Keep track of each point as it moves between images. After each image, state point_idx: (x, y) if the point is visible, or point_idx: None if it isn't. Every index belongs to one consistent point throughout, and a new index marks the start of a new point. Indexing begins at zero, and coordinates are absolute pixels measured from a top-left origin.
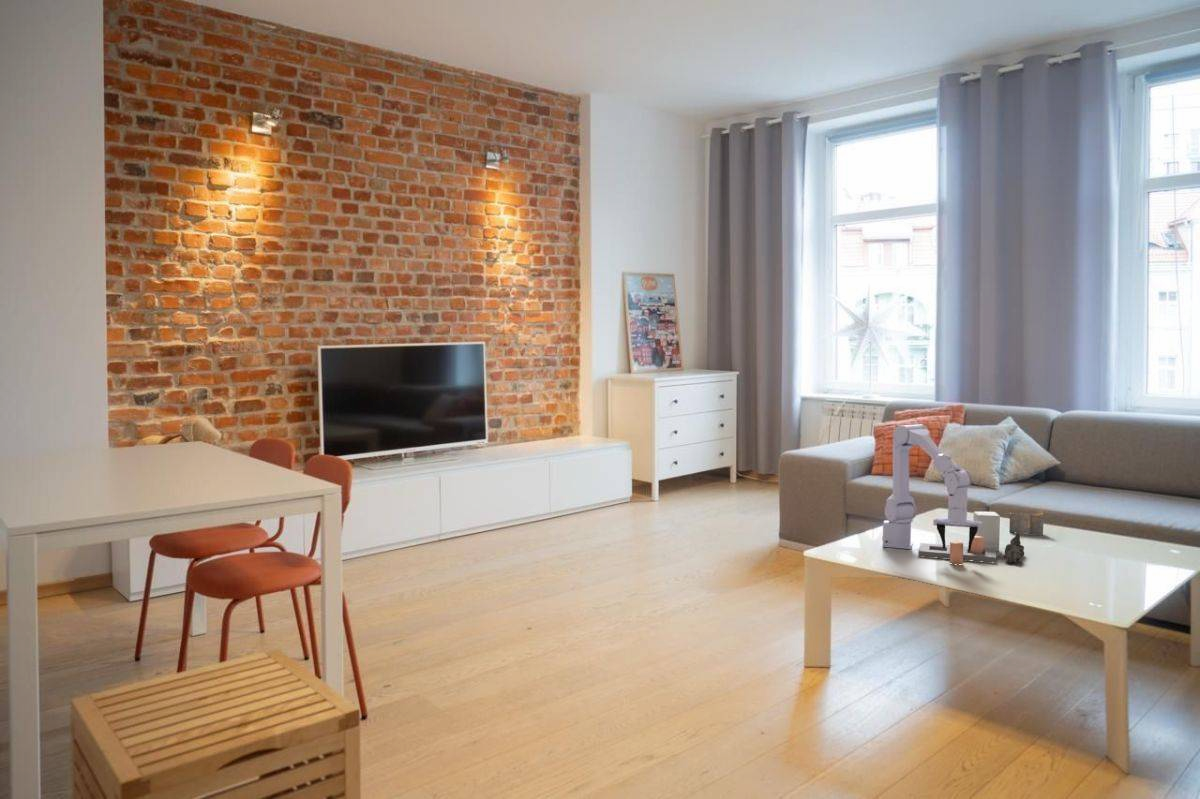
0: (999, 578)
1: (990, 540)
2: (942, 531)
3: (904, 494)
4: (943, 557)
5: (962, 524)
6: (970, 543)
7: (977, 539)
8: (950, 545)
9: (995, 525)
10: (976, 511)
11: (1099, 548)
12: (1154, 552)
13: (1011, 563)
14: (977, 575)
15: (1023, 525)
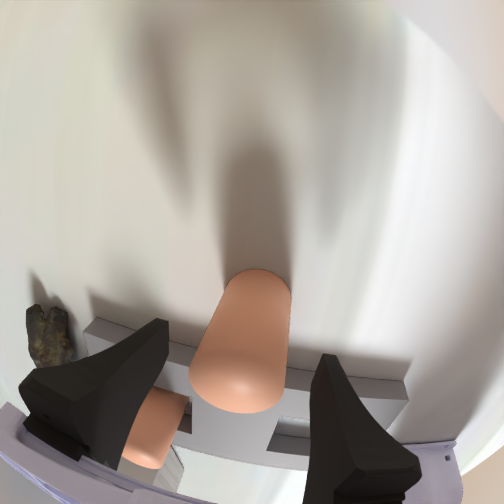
0: (89, 64)
1: (123, 459)
2: (369, 450)
3: None
4: (303, 375)
5: (115, 492)
6: (132, 339)
7: (130, 437)
8: (284, 366)
9: None
10: None
11: (3, 403)
12: None
13: (54, 307)
14: (173, 75)
15: None
